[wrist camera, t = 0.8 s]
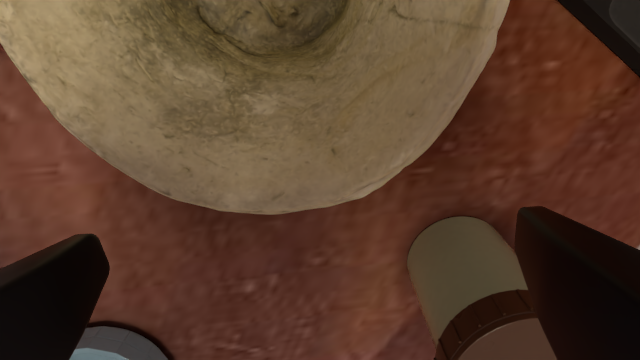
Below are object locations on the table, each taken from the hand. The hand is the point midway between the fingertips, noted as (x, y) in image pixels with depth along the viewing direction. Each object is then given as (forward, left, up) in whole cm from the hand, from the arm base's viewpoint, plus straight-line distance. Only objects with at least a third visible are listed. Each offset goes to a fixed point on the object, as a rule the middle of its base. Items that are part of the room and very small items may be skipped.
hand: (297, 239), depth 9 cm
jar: (+3, -13, -15) cm, 19 cm away
